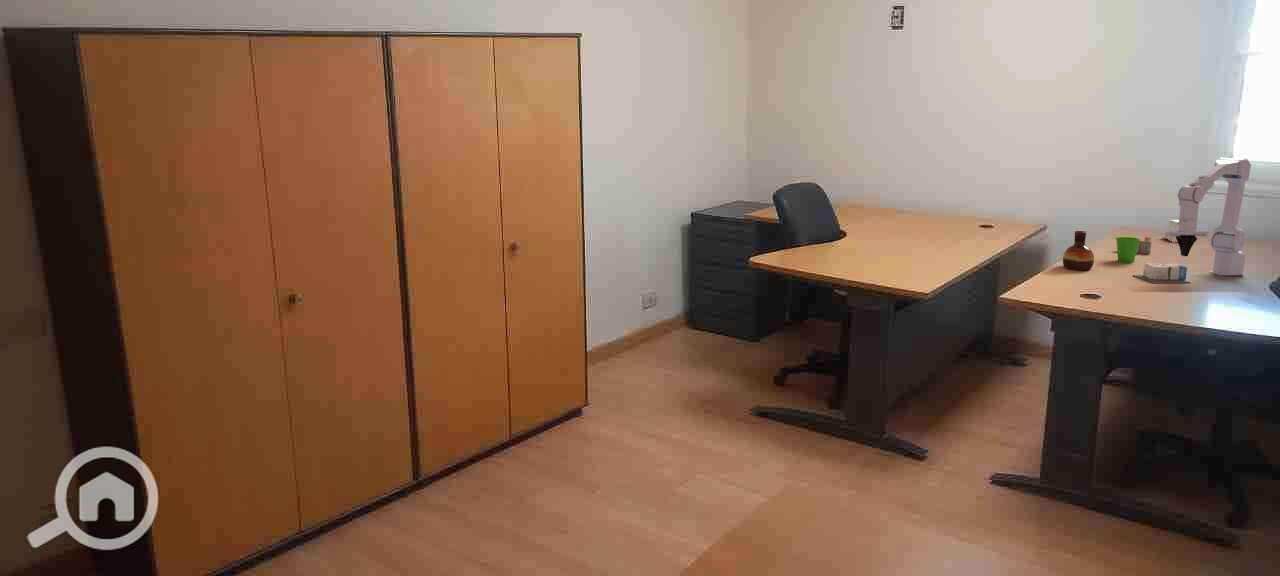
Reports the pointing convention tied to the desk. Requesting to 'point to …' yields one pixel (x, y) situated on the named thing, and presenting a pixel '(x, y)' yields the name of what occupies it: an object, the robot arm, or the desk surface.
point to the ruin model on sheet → (1144, 246)
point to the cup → (1127, 248)
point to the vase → (1078, 254)
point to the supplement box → (1171, 227)
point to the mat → (1159, 280)
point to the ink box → (1164, 271)
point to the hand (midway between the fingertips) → (1184, 255)
